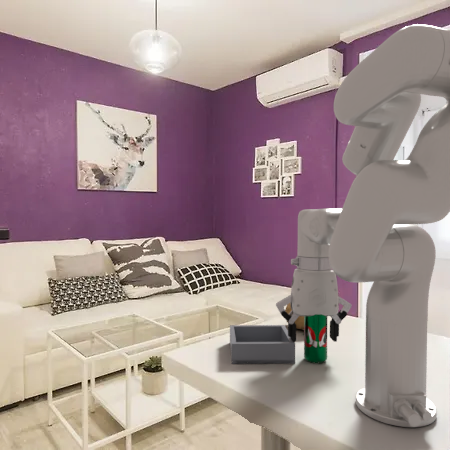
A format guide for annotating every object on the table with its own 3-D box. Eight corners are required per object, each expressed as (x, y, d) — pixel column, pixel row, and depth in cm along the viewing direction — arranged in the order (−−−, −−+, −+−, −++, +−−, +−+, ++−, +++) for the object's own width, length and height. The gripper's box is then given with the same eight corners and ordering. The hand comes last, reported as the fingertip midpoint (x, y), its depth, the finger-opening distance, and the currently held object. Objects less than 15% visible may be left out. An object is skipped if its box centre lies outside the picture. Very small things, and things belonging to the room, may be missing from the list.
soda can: (325, 356, 91) (325, 305, 90) (328, 364, 86) (329, 310, 85) (302, 355, 91) (303, 304, 91) (305, 363, 86) (305, 309, 86)
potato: (288, 336, 105) (288, 306, 105) (281, 321, 119) (281, 295, 119) (324, 336, 105) (324, 306, 105) (313, 321, 119) (313, 295, 119)
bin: (295, 363, 86) (295, 343, 86) (231, 364, 86) (231, 343, 86) (284, 342, 100) (284, 325, 100) (229, 342, 100) (229, 325, 100)
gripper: (278, 266, 84) (277, 345, 85) (358, 266, 85) (357, 345, 85) (273, 261, 92) (272, 334, 92) (346, 261, 92) (345, 334, 93)
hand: (313, 339), depth 89 cm, fingers open, 8 cm apart
